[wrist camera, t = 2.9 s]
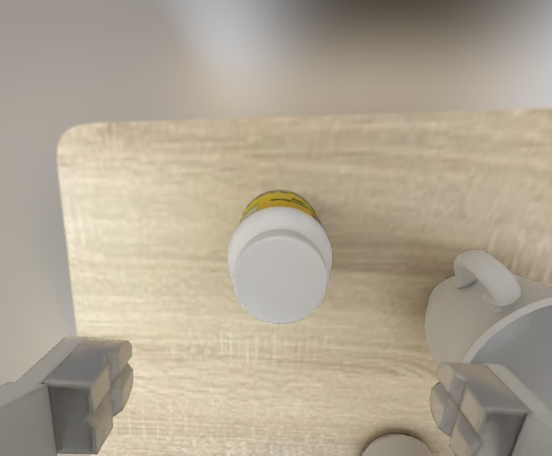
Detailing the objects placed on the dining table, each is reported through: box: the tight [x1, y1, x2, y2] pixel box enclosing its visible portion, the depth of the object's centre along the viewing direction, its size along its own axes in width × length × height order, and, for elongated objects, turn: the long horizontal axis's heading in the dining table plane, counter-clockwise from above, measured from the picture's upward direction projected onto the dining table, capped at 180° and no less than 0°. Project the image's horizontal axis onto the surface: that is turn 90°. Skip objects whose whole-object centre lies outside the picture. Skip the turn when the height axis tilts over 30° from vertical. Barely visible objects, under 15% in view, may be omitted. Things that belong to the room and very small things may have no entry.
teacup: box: [424, 249, 552, 411], centre depth 22 cm, size 12×15×10 cm
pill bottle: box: [227, 190, 332, 324], centre depth 20 cm, size 6×6×11 cm
